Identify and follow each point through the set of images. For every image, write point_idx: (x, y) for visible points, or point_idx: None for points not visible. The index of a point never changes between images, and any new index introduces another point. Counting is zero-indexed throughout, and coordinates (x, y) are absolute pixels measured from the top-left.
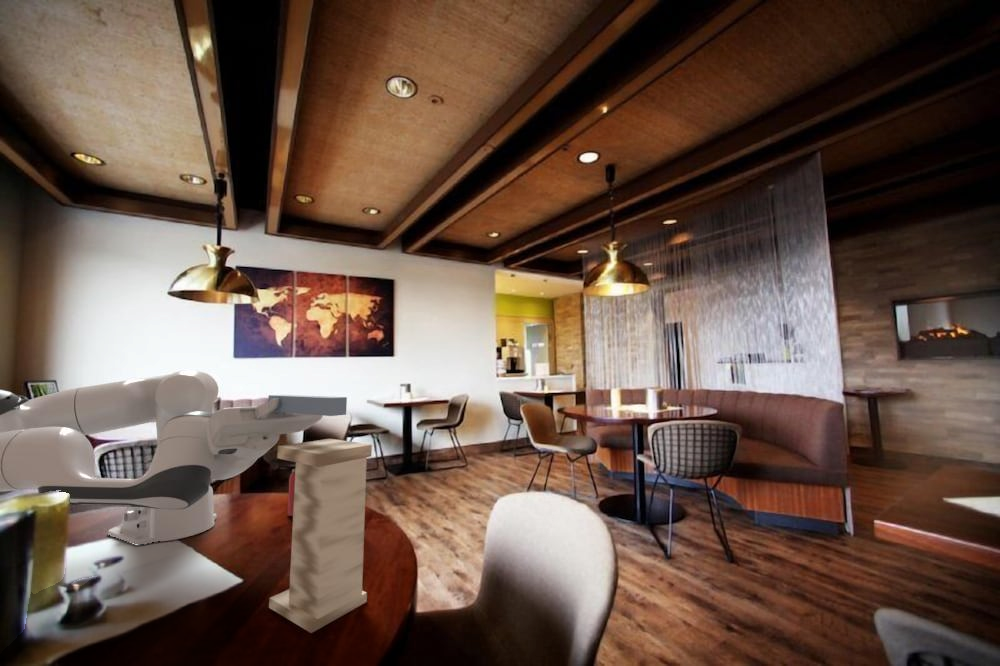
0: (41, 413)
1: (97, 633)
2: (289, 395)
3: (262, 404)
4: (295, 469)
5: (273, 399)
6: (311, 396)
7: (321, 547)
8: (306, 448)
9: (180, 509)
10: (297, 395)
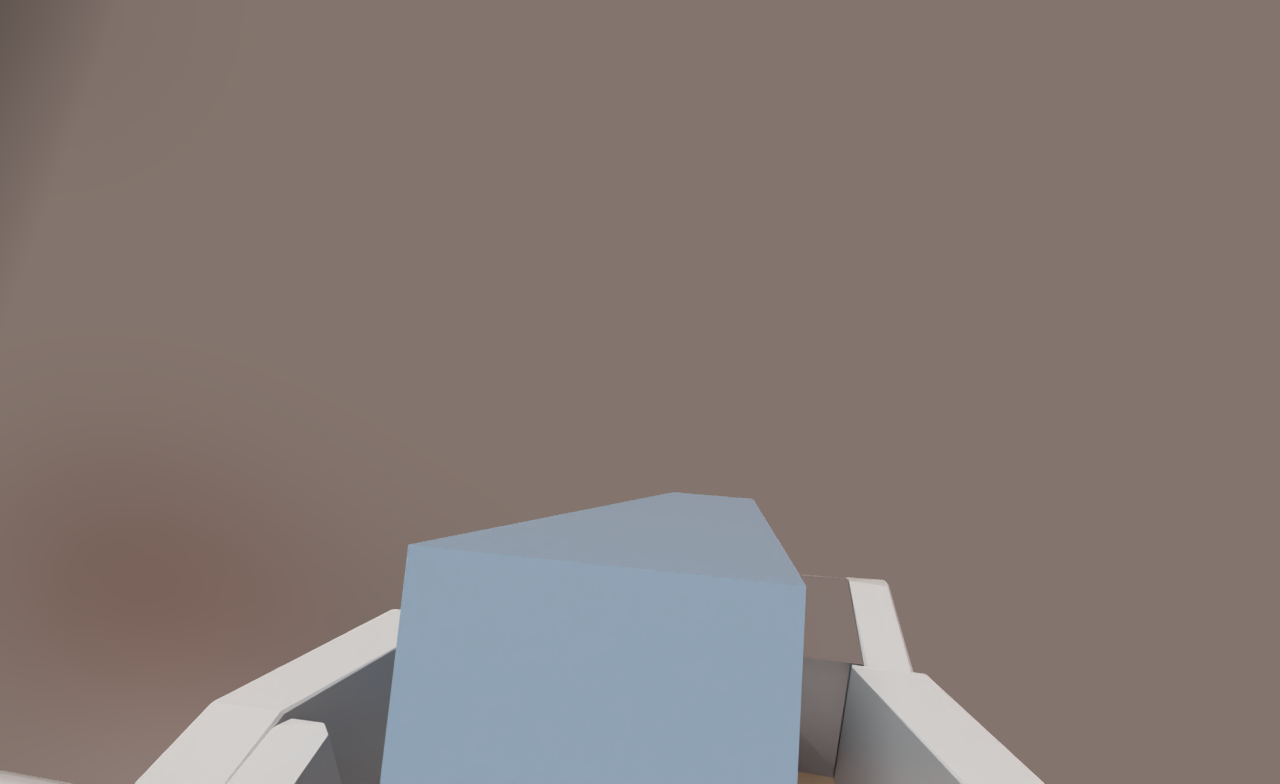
0: None
1: None
2: (650, 522)
3: (1007, 753)
4: None
5: (877, 589)
6: (698, 503)
7: None
8: (815, 777)
9: None
10: (614, 512)
